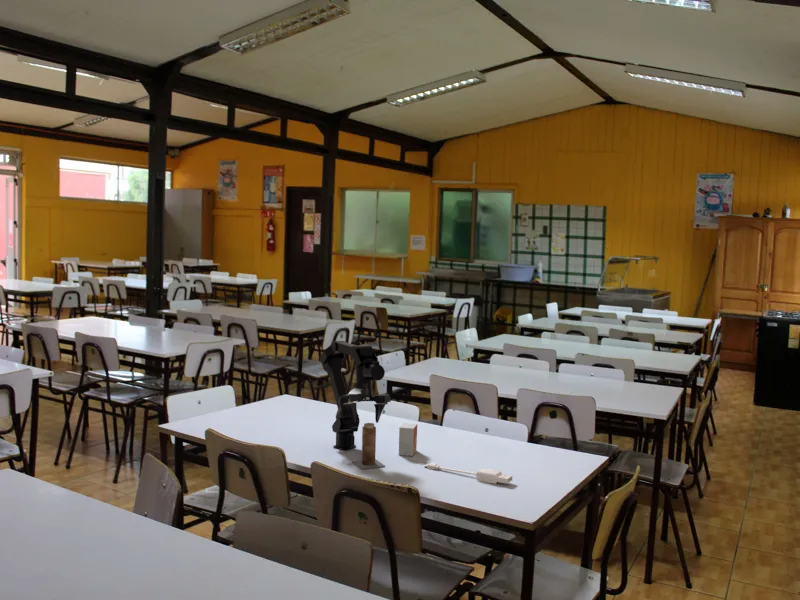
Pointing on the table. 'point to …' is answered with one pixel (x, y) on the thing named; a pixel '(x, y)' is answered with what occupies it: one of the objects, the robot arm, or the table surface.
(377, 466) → the coaster
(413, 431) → the small box
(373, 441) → the pepper mill
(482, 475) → the charging cable
